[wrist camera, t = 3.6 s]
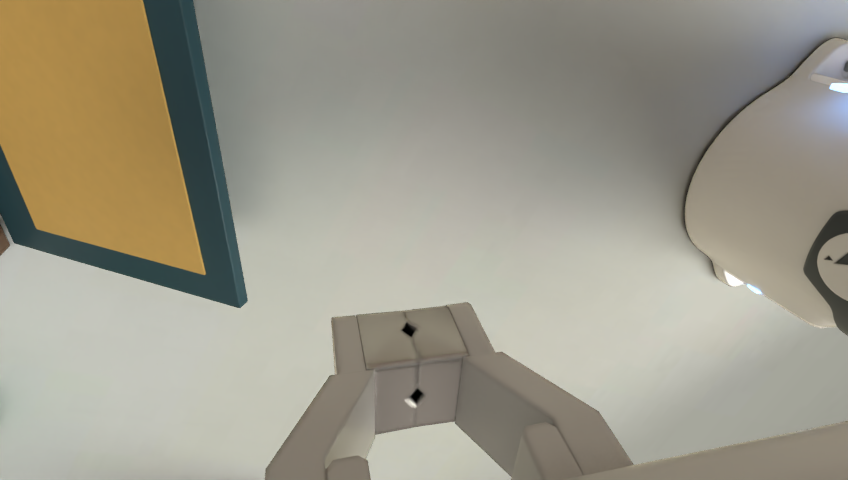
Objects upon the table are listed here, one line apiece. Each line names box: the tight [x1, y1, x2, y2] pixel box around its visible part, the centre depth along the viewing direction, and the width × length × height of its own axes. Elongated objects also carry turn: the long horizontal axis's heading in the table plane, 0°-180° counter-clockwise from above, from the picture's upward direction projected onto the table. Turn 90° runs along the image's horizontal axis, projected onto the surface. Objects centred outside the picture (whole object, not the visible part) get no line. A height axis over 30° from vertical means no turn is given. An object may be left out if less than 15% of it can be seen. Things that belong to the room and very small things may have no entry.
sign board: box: [0, 0, 248, 308], centre depth 20 cm, size 14×14×1 cm
